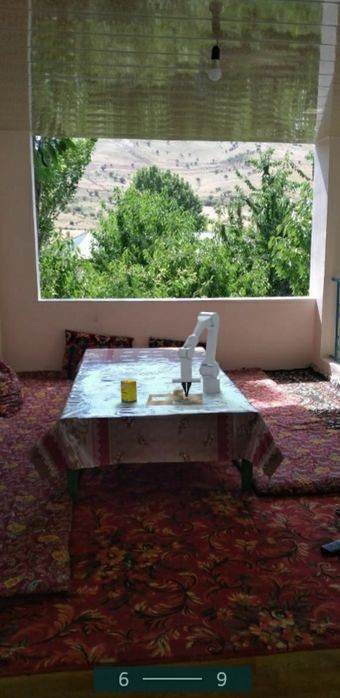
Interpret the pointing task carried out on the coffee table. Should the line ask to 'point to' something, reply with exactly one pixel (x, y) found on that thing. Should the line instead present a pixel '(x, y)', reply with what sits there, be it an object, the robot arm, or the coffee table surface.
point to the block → (177, 393)
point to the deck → (193, 399)
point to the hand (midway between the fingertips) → (186, 396)
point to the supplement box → (128, 391)
